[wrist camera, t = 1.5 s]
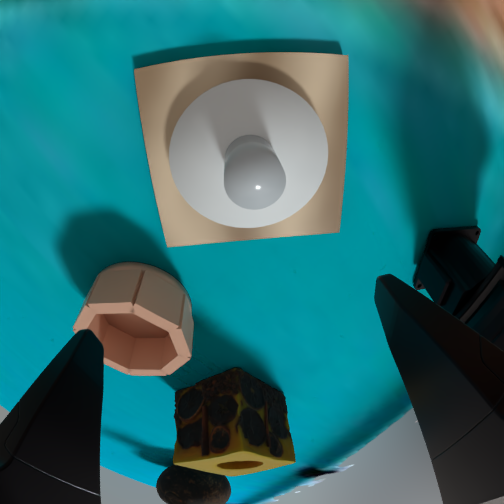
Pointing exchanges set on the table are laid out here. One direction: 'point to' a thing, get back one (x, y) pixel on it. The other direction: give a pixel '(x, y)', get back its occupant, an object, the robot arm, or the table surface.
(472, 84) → the table surface
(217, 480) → the dark brown vase
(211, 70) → the mat
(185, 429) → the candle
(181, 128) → the lid
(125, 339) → the bowl
